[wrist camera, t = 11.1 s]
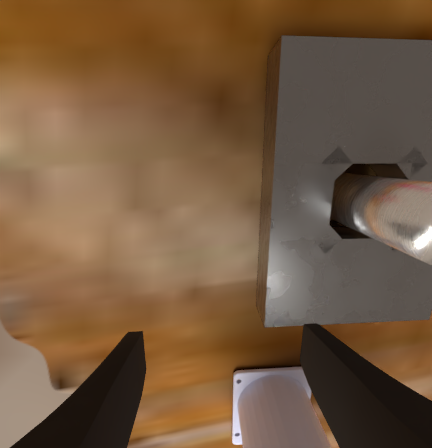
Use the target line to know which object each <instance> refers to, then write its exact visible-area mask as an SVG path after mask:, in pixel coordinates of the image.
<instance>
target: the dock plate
mask: <svg viewBox="0 0 432 448" xmlns="http://www.w3.org/2000/svg"><path fill="white" fill-rule="evenodd" d="M352 164H369V165H370V166H371V167H372V169H373V170H374V171H375V173H376V174H377V175H378V177H388V178H397V179H407V180H416V181H426V182H432V40H408V39H377V38H345V37H314V36H283V35H282V36H281V37H280V39H279V40H278V42H277V43H276V45H275V46H274V48H273V49H272V51H271V52H270V54H269V55H268V64H267V85H266V106H265V128H264V149H263V170H262V191H261V212H260V233H259V254H258V275H257V296H256V307H257V309H258V312H259V314H260V317H261V320H262V322H263V325H264V327H281V326H302V325H304V324H311V323H317V324H319V325H324V324H345V323H366V322H387V321H409V320H429V318H430V315H431V311H432V265H430V264H427V263H425V262H423V261H421V260H419V259H416V258H414V257H412V256H410V255H408V254H406V253H404V252H401V251H399V250H397V249H395V248H393V247H391V246H388V245H386V244H384V243H382V242H380V241H378V240H375V239H373V238H371V237H369V236H367V235H365V234H363V233H360V232H358V231H356V230H354V229H352V228H350V227H340V228H332V227H331V226H330V225H329V222H330V214H331V206H332V198H333V190H334V182H335V180H336V179H337V178H338V177H339V176H340V175H341V174H342V173H343V172H344V171H345V170H346V169H348V168H349V167H350V166H351V165H352Z"/></svg>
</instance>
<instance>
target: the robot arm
mask: <svg viewBox="0 0 432 448" xmlns="http://www.w3.org/2000/svg"><path fill="white" fill-rule="evenodd" d="M300 363H301V366H302V367H287V368H270V369H252V370H238V371H235V372H234V374H233V414H232V442H233V444H235V445H240V444H242V446H243V448H332V447H331V445H330V443H329V441H328V438H327V436H326V434H325V432H324V430H323V428H322V425H321V423H320V421H319V419H318V417H317V414H316V412H315V410H314V408H313V406H312V404H311V401H310V398H311V391H312V393H313V395H314V397H315V399H316V401H317V403H318V405H319V407H320V409H321V411H322V413H323V415H324V417H325V419H326V421H327V423H328V425H329V427H330V429H331V431H332V433H333V435H334V437H335V439H336V441H337V443H338V445H339V447H340V448H432V401H431V400H429V399H427V398H425V397H424V396H422V395H420V394H418V393H417V392H415V391H413V390H412V389H410V388H408V387H407V386H405V385H403V384H402V383H400V382H399V381H397V380H395V379H394V378H392V377H391V376H389V375H388V374H386V373H385V372H383V371H382V370H380V369H379V368H377V367H376V366H374V365H373V364H371V363H370V362H369V361H367V360H366V359H364V358H363V357H361V356H360V355H359V354H357V353H356V352H355V351H353V350H352V349H351V348H349V347H348V346H347V345H345V344H344V343H343V342H341V341H340V340H339V339H337V338H336V337H335V336H333V335H332V334H331V333H330V332H328V331H327V330H326V329H324V328H323V327H321V326H320V325H319V324H317V323H311V324H304V326H303V336H302V345H301V354H300ZM145 374H146V361H145V351H144V340H143V331H139V332H128V333H127V334H126V335H125V336H124V337H123V339H122V340H121V341H120V342H119V343H118V345H117V346H116V347H115V348H114V349H113V350H112V352H111V353H110V354H109V355H108V356H107V357H106V359H105V360H104V361H103V362H102V363H101V364H100V365H99V366H98V368H97V369H96V370H95V371H94V372H93V373H92V374H91V375H90V376H89V377H88V378H87V379H86V380H85V381H84V382H83V383H82V384H81V385H80V387H79V388H78V389H77V390H76V391H75V392H74V393H73V394H72V395H71V396H70V397H69V398H68V399H66V400H65V401H64V402H63V403H62V404H61V405H60V406H59V407H58V408H57V409H56V410H55V411H54V412H52V413H51V414H50V415H49V416H48V417H47V418H46V419H45V420H43V421H42V422H41V423H40V424H39V425H37V426H36V427H35V428H34V429H32V430H31V431H30V432H29V433H28V434H26V435H25V436H24V437H23V438H21V439H20V440H19V441H18V442H16V443H15V444H14V445H13V446H12V447H10V448H127V445H128V442H129V438H130V435H131V431H132V428H133V424H134V421H135V417H136V414H137V410H138V407H139V403H140V400H141V396H142V391H143V386H144V380H145ZM239 379H240V380H239Z"/></svg>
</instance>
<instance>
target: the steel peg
mask: <svg viewBox="0 0 432 448" xmlns="http://www.w3.org/2000/svg"><path fill="white" fill-rule="evenodd" d="M330 219H332V220H334V221H337V222H339V223H341V224H343V225H345V226H347V227H350V228H352V229H354V230H356V231H358V232H360V233H363V234H365V235H367V236H369V237H371V238H373V239H375V240H378V241H380V242H382V243H384V244H386V245H388V246H391V247H393V248H395V249H397V250H399V251H401V252H404V253H406V254H408V255H410V256H412V257H414V258H416V259H419V260H421V261H423V262H425V263H427V264H430V265H432V182H426V181H416V180H407V179H397V178H388V177H378V176H369V175H359V174H350V173H345V174H341V175H340V176H339V177H338V178H337V179H336V180H335V182H334V190H333V198H332V206H331V214H330Z"/></svg>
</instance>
